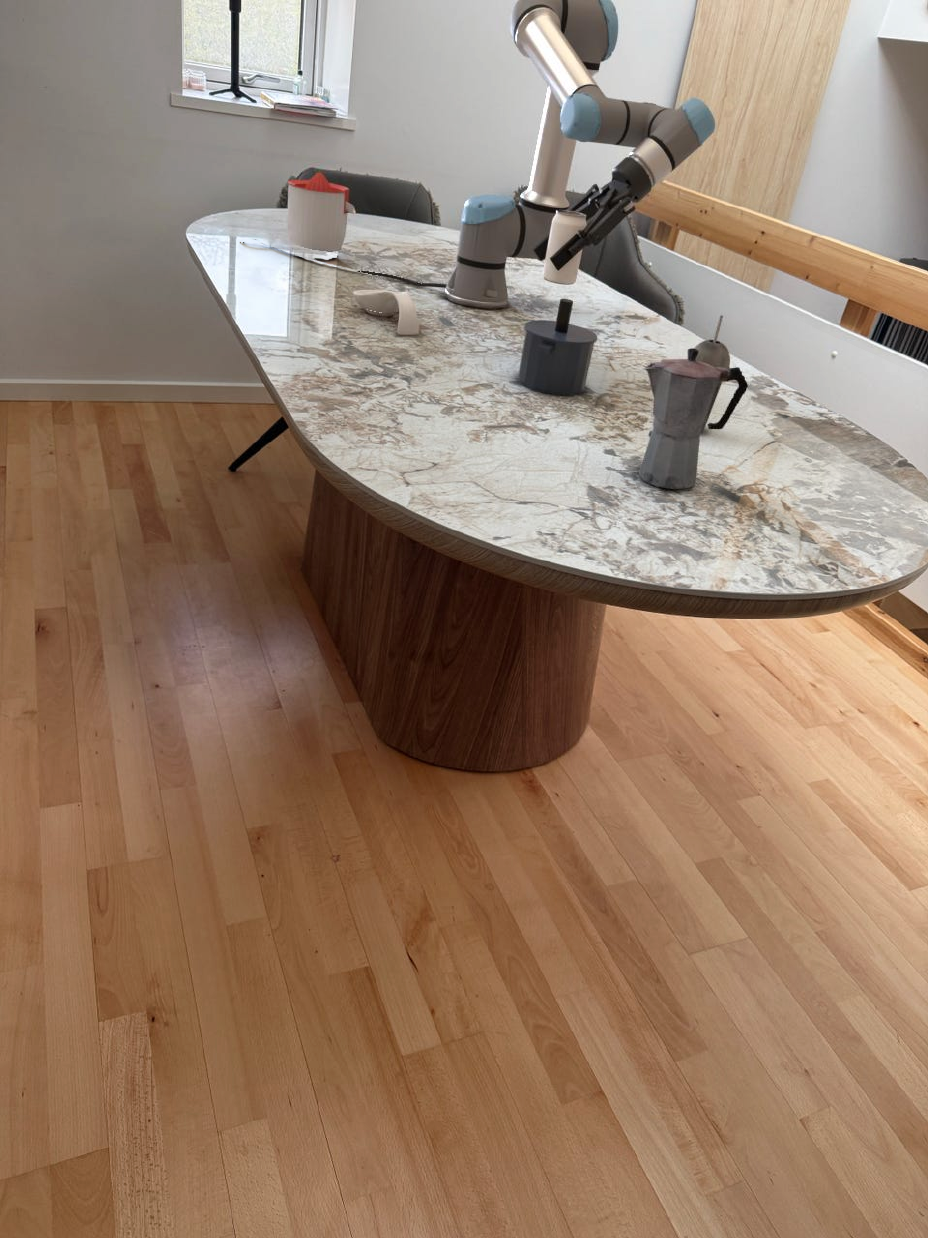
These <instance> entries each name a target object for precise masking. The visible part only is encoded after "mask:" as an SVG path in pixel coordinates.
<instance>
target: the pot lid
mask: <svg viewBox="0 0 928 1238" xmlns="http://www.w3.org/2000/svg"><path fill="white" fill-rule="evenodd" d="M573 306H574V301H573V300H572V299H569V298H560V299H559V303H558V309H557V313H556V319H555V320H546V319H545V320H544V319H543V320H542V319H541V320H540V319H539V320H537V319H536V320H530V321H528V322H525V324H524V325H523V329H524V331H525V333H526V332H528V333H529V334H531V335H533V336H535V337H538V338H541V339H544V340H548V341H552V342H556V343H562V344H571V345H588V344H592V343H594V344H595V343H596V342H597V341H598V335H597V334H596V333H595V332H593V331H592V330H589V329H587V328H585V327H583V326H579V325H576V324H573V323H570V321H571V316H572V310H573Z"/></svg>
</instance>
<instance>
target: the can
mask: <svg viewBox="0 0 928 1238" xmlns="http://www.w3.org/2000/svg"><path fill="white" fill-rule="evenodd" d="M587 225H588V223H587V221H586V215H585V214H582V213H579V212H574V211H568V210H557V211H556V215H555V216H554V218H553V220H552V224H551V230H550V235H549V241H548V247H547V252H546V258H545V260H544V265H543V269H542V277H543V280H545V281H547V282H549V283H552V284H557V285H564V286H565V285H566V286H570V285H574V284H575V283H576V282H577V278H578V272H579V268H580V263H581V258H582V253H583V249H582V250H581V251H580V252H578V253H577V254H576V255H575V256H574V257H573V258H572V259H571V260H570V261H569V262H568V263H566V264H565V265H564V266H563V267H562V268H561V269H560V270H559V271H558V270H556V268H555V266H554V265H553V263H552V262H551V260H550V257H552V256H553V255H554V254H555V253H556V252H557V251H558V250H559V249H560V248H561V247H562V246H563V245H565V244H566V243H567V242H568V241H569V240H570V239H571V238H572V237H573V236H574V235H575V234H578V235H579V236H580V234H579V232H578V230H584V228H585V227H586V226H587ZM580 237H581V236H580Z"/></svg>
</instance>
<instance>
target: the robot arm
mask: <svg viewBox="0 0 928 1238" xmlns="http://www.w3.org/2000/svg"><path fill="white" fill-rule="evenodd" d="M615 6H616V5H615V4H614V3H613V1H612V0H517V1H516V3H515V4H514V6H513V9H512V12H511V15H510V21H509V27H510V28H509V29H510V35H511V38H512V41H513V43H514V45H515V46H516V48H517V49H518V51H519V52H520V54H521V55H522V56H524V57H525V58H527V59H530V60H531V62H532V63H533V65H534V66H535V68H536V70H537V71H538V73H539V75H540V76H541V77H542V79H543V81H544V82H545V84H546V86H547V92H546V97H545V103H544V107H543V113H542V118H541V123H540V126H539V127H540V128H539V133H538V137H537V138H538V139H537V144H536V148H535V152H534V153H535V154H534V159H533V162H532V163H533V165H532V168H531V174H530V180H529V184H528V187H527V189H525V190H524V191H523V192H521V193H520V197H519V202H518V203H516V200H515V199H514V197H512V196H509V195H508V196H507V195H497V194H481V195H474V196H471V197H469V198H468V199H466V200H465V202H464V205H463V210H462V213H461V214H462V215H461V217H460V221H461V222H460V231H459V239H458V247H457V255H456V263H455V266H454V268H453V271H452V272H451V274H450V276H449V279H448V282H447V283H437V282H420V281H416V282H415V280H412V279H410V278H406V277H403V278H401V277H402V276H400V277H397V276H398V275H396V276H393V275H394V274H391V275H388V274H389V273H386V274H382V273H383V272H380V273H375V272H376V271H373V272H369V271H370V270H367V271H361V272H363V273H368V274H372V275H371V276H375V275H378V276H377V277H381V276H383V278H386V279H387V278H388V279H393V280H398V281H401V282H404V283H406V284H409V285H413V286H418V287H423V288H441V289H442V288H443V289H445V290H444V297H445V299H447V300H448V301H450V302H452V303H455V304H458V305H460V306H461V305H462V306H464V307H465V306H466V307H471V308H476V309H486V310H497V309H504V308H506V307H507V306H508V302H509V301H508V300H509V293H508V287H507V279H506V274H505V273H506V264H507V258H514V259H528V260H537V261H540V262H543V261H545V258H546V252H547V247H548V241H549V235H550V230H551V224H552V220H553V218H554V216H555V215H556V211H557V210H568V211H574V212H579V213H582V214H585V215H586V222H588V221H589V220H590V219H591V220H590V221H589V222H588V223H587V226H586V227H585V228H584V230H578V232H579V234H580V236H581V237H580V236H579V235H578V234H575V235H574V236H573V237H572V238H571V239H570V240H569V241H568V242H567V243H566V244H565V245H563V246H562V247H561V248H560V249H559V250H558V251H557V252H556V253H555V254H554V255H553V256H552V257H550V260H551V262H552V263H553V265H554V266H555V268H556V270H558V271H559V270H560V269H561V268H562V267H563V266H564V265H565V264H566V263H568V262H569V261H570V260H571V259H572V258H573V257H574V256H575V255H576V254H577V253H578V252H580V251H581V250H582V251H583V249H584V248H585V247H589V246H591V245H593V246H594V247H596V246H598V245H599V244H601V242H602V241H603V240H604V239H605V238H606V237H608V235H609V234H610V233H611V232H613V230H614V229H615V228H616V227H617V226H618V225H619V224H621V222H623V220H624V219H626V217H628V216H629V215H630V214H632V213H633V212H634V211H636V206H635V204H638V203H640V202H641V201H642V200H643V199H644V198H645V197H646V196H647V195H648V194H649V193H651V192H652V188H655V187H657V186H658V185H659V184H660V183H662V182H664V180H665V178H666V177H667V176H669V175H670V174H671V173H672V172H673V171H674V170H675V169H676V168H678V167H679V166H680V165H681V164H682V163H684V161H686V160H687V159H689V157H690V156H691V155H692V154H694V153H695V152H696V151H697V150H698V149H699V148H700V147H702V146H703V144H704V143H705V142H706V141H707V140H708V138H709V137H711V136H712V135H713V133H715V129H716V121H715V118H714V115H713V113H712V111H711V109H710V108H709V106H708V105H707V104H706V103H705V102H704V101H703V100H701V99H700V98H698V97H690V98H689V99H687V100H686V101H685V102H683V103H681V104H680V106H679V107H678V108H671V107H665V106H662V105H659V104H656V103H653V102H647V101H643V102H638V101H631V100H624V99H617V98H612V97H607V96H606V95H605V93H604V92H603V90H602V89H601V88H600V86H599V85H598V83H597V82H596V80H595V79H594V76H595V75H597V74H598V73H599V72H600V67H601V64H602V63H603V62H605V61H607V60H610V58H611V56H612V55H613V54H612V53H613V52H614V51H615V49H616V46H617V42H618V37H619V17H618V16H619V15H618V12H617V9H616V7H615ZM577 141H578V142H579V143H594V144H603V145H604V144H605V145H614V146H619V147H627V148H634V149H632V150H631V151H630V153H629V154H628V156H626V157H625V158H623V159H622V160H621V161H619V163H618V164H616V165H615V167H613V168H612V170H611V180H610V181H609V182H608V183H607V182H606V184H604V185H603V186H602V187H599V186H598V183H594V184H593V185H591V186H590V188H589V189H588V190H587V191H586V192H585V193H584V194H583V195H582V196H580V198H578V199H576V201H574V203H572V204H571V205H570V202H569V201H568V199H567V197H566V193H567V188H568V187H567V186H568V183H569V177H570V173H571V167H572V165H573V164H572V163H573V159H574V154H575V150H576V147H577V146H576V145H577ZM358 272H360V271H358ZM363 273H362V274H363ZM368 274H367V275H368ZM405 278H406V279H405ZM418 282H420V283H418ZM421 283H422V284H421Z"/></svg>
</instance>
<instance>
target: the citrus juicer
mask: <svg viewBox="0 0 928 1238" xmlns="http://www.w3.org/2000/svg"><path fill="white" fill-rule="evenodd" d="M287 184H288V191H287V192H288V193H287V219H286V221H287V233H288V239H289V242H290V241H292V242H293V243H294V244H296V245H299V246H301V247H304V248H308V249H312V250H319V251H327V252H333V251H339V250H341V251H342V248H343V245H344V242H345V238H346V234H347V233H346V232H347V227H348V213H350V214H353V215H356V213H357V212H356V209H355V206H354V205H353V204H351V203H350V202H349V200H350V195H349V194H350V188H348V187H347V186H344V185H340V184H337V183H333V182H329V181H328V180H327V178H326V176H325V175H324V174H323V173H322V172H320V171H319V172H317V173H316V174H314V175H313V176H312V178H310V179H290V180H287Z"/></svg>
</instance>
